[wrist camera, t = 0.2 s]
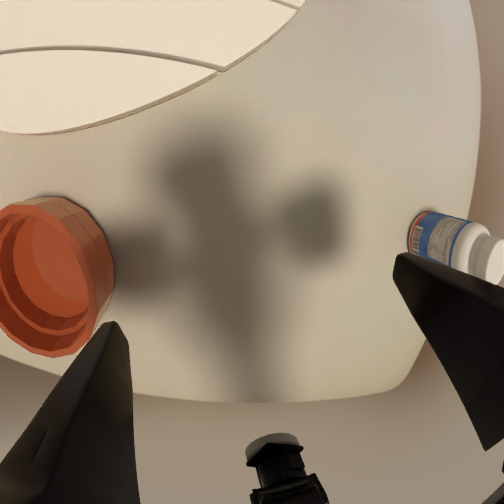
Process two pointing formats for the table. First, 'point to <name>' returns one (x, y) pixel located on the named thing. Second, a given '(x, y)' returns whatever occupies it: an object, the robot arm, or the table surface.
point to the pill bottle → (458, 245)
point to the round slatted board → (119, 55)
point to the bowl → (52, 275)
